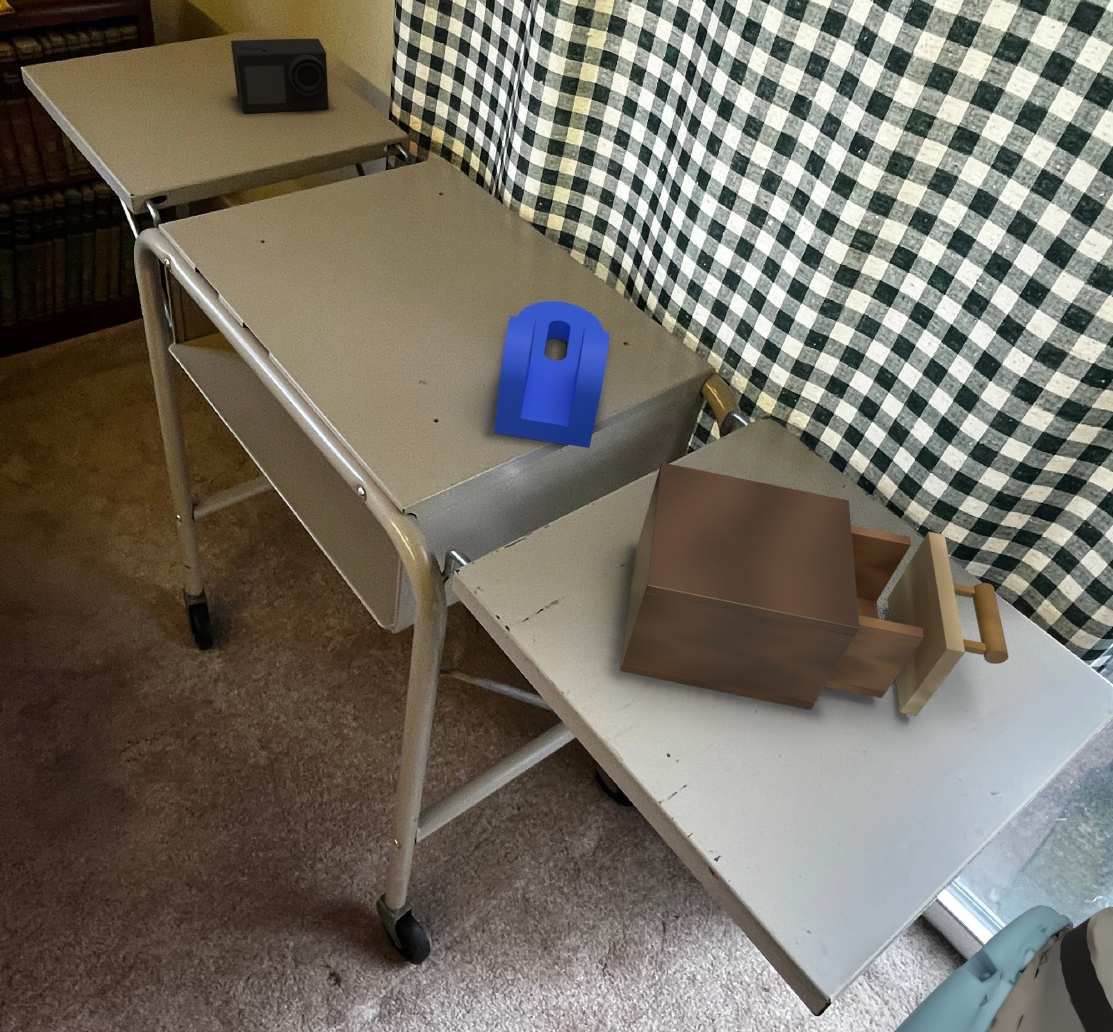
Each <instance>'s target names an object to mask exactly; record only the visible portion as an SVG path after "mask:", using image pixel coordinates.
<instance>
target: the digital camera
mask: <svg viewBox="0 0 1113 1032" xmlns="http://www.w3.org/2000/svg"><path fill="white" fill-rule="evenodd" d="M230 45H231V46H230V47H231V54H232V63H233V70H234V71H233V72H234V77H235V78H234V80H235V87H236V94H237V99H238V103H239V105H240V107H241V110H242V112H243V113H244V114H253V113H254V114H255V113H275V112H276V113H277V112H294V111H295V112H296V111H297V112H298V111H314V110H328V109H329V107H330V106H329V105H330V104H329V85H328V65H327V64H328V63H327V51H326V49H325V48H324V46H323V45H322V42H321V41H320V38H278V39H277V38H274V39H270V38H269V39H241V40H238V39H237V40H230Z"/></svg>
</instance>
